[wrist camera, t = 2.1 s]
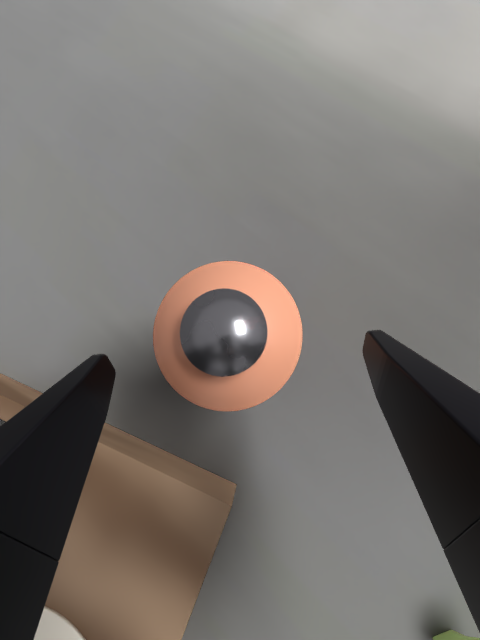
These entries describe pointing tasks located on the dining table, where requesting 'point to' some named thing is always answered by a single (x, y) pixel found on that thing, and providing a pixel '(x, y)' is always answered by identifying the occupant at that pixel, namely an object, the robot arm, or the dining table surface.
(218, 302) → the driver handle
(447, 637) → the figurine
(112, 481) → the dial board
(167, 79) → the dining table surface
